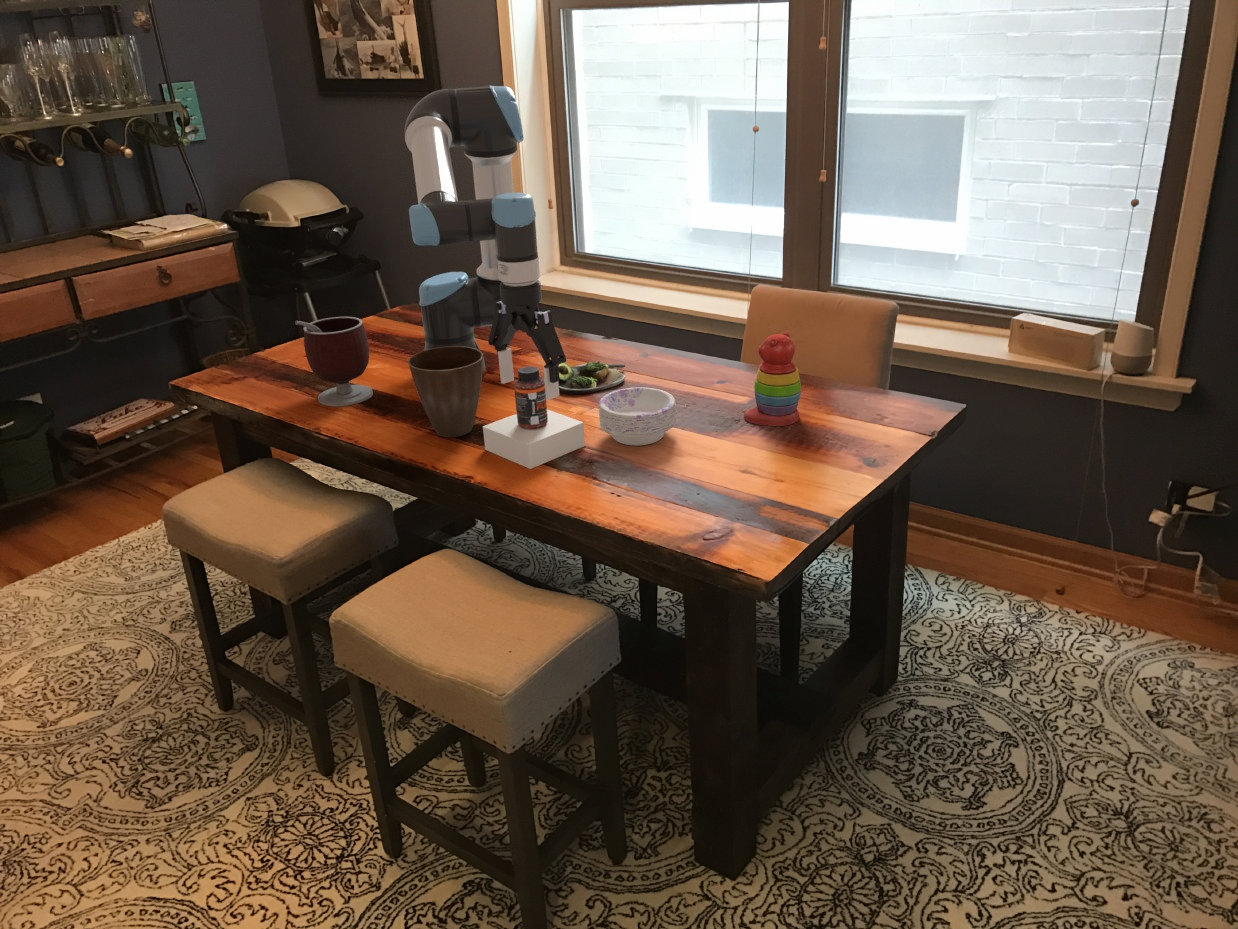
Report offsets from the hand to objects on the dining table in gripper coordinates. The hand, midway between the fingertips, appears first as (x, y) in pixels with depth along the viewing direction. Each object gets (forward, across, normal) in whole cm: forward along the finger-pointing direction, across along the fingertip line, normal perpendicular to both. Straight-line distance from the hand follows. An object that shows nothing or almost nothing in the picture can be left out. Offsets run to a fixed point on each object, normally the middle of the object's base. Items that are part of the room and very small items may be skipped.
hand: (529, 389), depth 190 cm
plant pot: (+12, -20, -5) cm, 24 cm away
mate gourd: (+13, -57, -10) cm, 59 cm away
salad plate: (+13, -21, +32) cm, 40 cm away
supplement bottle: (+7, 0, 0) cm, 7 cm away
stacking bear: (+12, +27, +42) cm, 51 cm away
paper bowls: (+12, +12, +17) cm, 24 cm away
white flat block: (+12, 0, 0) cm, 12 cm away
